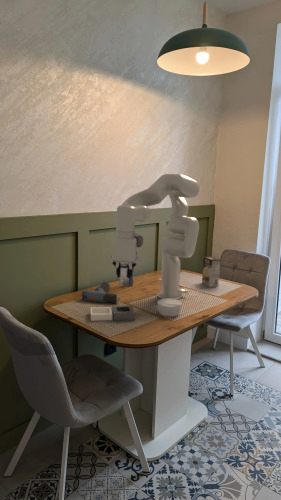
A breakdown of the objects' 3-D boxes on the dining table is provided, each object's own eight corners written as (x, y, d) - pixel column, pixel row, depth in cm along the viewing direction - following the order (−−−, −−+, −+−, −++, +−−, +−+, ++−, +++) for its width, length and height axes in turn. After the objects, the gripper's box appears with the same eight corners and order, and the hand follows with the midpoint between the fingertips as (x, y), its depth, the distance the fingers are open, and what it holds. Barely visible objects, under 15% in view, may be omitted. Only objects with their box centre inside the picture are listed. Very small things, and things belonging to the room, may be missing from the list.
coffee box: (201, 282, 215) (203, 256, 212) (210, 282, 217) (212, 256, 214) (209, 287, 207) (211, 260, 204) (219, 286, 209) (221, 259, 206)
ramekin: (163, 319, 156) (164, 307, 155) (152, 310, 166) (153, 299, 165) (185, 316, 161) (186, 304, 160) (173, 307, 171) (174, 297, 170)
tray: (110, 312, 161) (110, 306, 161) (112, 320, 153) (112, 314, 152) (90, 312, 160) (90, 307, 159) (91, 320, 151) (91, 314, 151)
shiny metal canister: (120, 282, 157) (120, 262, 155) (129, 283, 156) (130, 263, 154) (118, 285, 152) (118, 264, 151) (127, 286, 152) (128, 265, 150)
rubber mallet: (142, 286, 204) (144, 233, 198) (135, 289, 198) (137, 235, 192) (124, 282, 210) (126, 231, 205) (117, 285, 204) (118, 232, 198)
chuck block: (131, 312, 162) (131, 305, 161) (134, 320, 153) (134, 312, 153) (111, 313, 160) (111, 306, 160) (113, 320, 152) (113, 313, 151)
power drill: (128, 293, 190) (117, 306, 171) (95, 290, 194) (81, 301, 175) (129, 284, 189) (118, 295, 170) (95, 280, 193) (81, 291, 174)
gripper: (146, 235, 152) (144, 276, 156) (108, 232, 155) (107, 273, 159) (143, 237, 145) (141, 281, 148) (103, 235, 148) (102, 277, 151)
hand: (124, 276), depth 154 cm, fingers closed on shiny metal canister, 4 cm apart
